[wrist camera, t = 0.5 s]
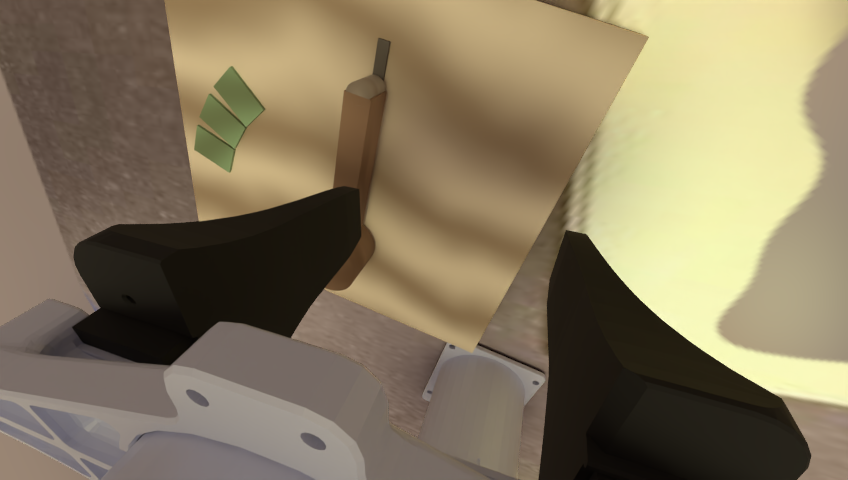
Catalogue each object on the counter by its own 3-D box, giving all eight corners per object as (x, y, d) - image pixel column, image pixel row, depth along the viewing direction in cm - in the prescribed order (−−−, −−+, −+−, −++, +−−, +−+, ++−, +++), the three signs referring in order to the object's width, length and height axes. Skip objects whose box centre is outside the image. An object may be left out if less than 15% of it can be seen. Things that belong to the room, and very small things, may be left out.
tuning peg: (370, 269, 26) (349, 298, 23) (325, 250, 26) (300, 277, 24) (410, 86, 18) (386, 100, 16) (346, 62, 19) (312, 73, 16)
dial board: (475, 341, 29) (471, 355, 28) (212, 229, 31) (199, 237, 30) (643, 34, 16) (649, 37, 14) (166, -119, 18) (140, -127, 17)
